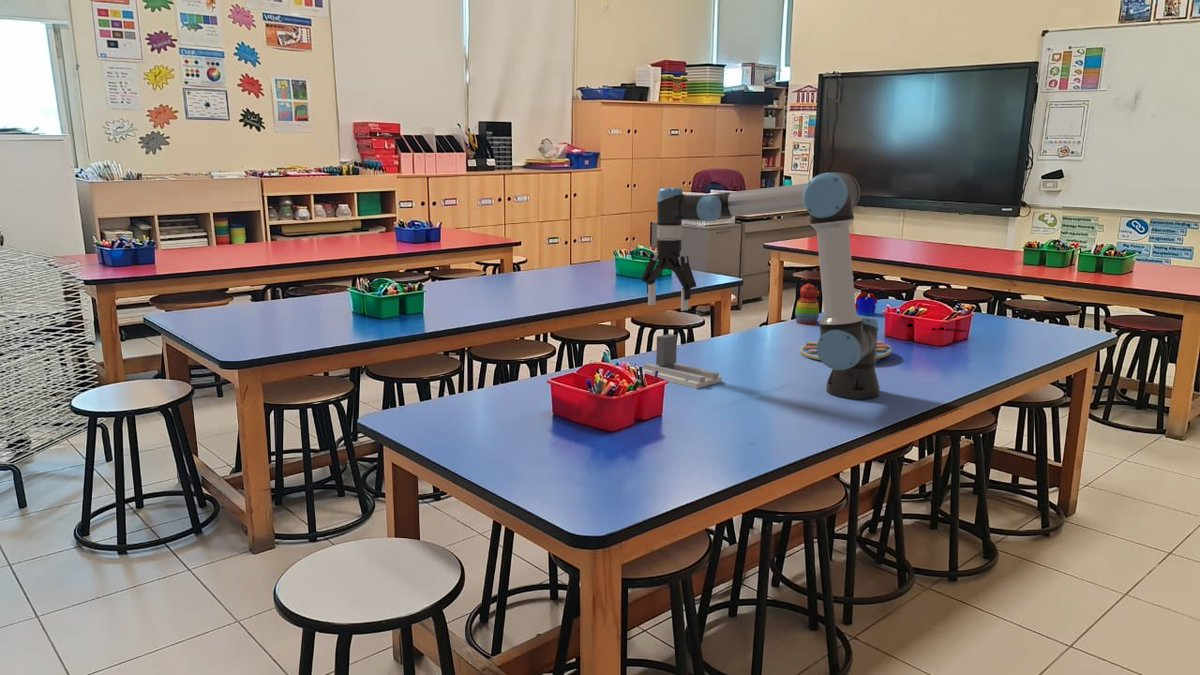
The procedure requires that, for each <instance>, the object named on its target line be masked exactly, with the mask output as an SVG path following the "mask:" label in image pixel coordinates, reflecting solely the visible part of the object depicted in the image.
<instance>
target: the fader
mask: <svg viewBox="0 0 1200 675" xmlns="http://www.w3.org/2000/svg"><path fill="white" fill-rule="evenodd" d="M677 336H678V335H677V334H673V333H668V334H663V335H659V336H658V335H657V336H656V353H655V354H656V357H655V359H656V362H655V365H659V366H663V367H667V368H672V369H673V364H675V363H677V345H678V344H677V339H678V337H677Z"/></svg>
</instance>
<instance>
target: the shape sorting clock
mask: <svg viewBox="0 0 1200 675" xmlns="http://www.w3.org/2000/svg"><path fill="white" fill-rule="evenodd" d="M817 343H818V340H817V341H813V342H810V341H809V342H806V344H804V345H801V347H800V349H799V353H800V354H801V355H802V356H804V357H806V358H810V359H813V360H815V361H820V362H822V361H821V360H820V358H819V356H818V354H817ZM892 351H893V350H892V346H891V345H889V344H888V343H887V344H886V343H883V341H882V340H878V339H877V347H876V360H875V365H877V364H878V362H879V360H880V359H882V358H885V357H887V356H890V354H892Z"/></svg>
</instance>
